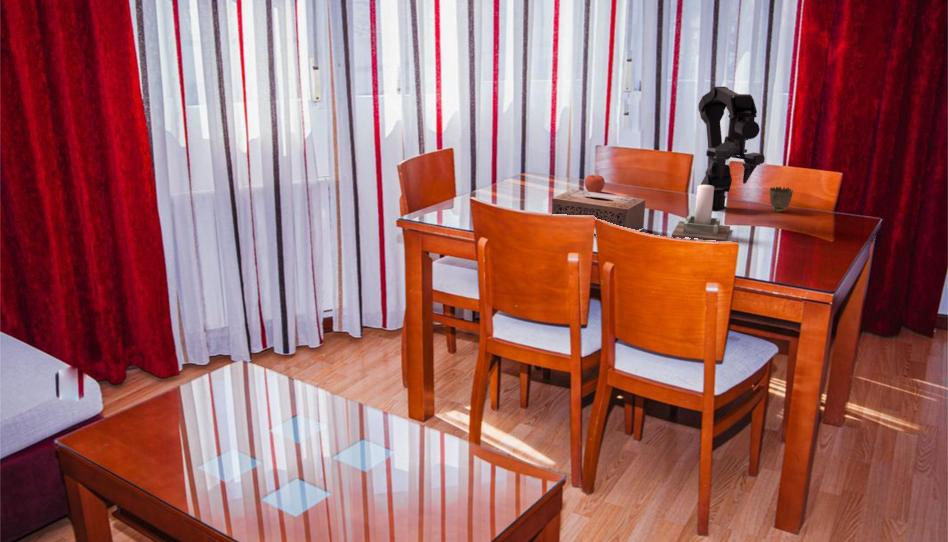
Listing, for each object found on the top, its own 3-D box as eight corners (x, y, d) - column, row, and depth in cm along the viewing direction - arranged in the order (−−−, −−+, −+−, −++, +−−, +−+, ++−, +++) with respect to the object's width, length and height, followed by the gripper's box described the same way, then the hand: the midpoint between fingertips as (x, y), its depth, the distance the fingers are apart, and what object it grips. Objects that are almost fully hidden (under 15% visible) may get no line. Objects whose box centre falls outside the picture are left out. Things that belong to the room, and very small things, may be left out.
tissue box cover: (643, 229, 271) (645, 199, 267) (625, 240, 259) (627, 209, 256) (571, 218, 284) (572, 189, 280) (551, 228, 272) (552, 198, 269)
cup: (793, 214, 287) (796, 191, 285) (771, 214, 287) (774, 191, 285) (786, 208, 294) (788, 186, 292) (764, 208, 294) (767, 186, 292)
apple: (592, 190, 320) (593, 169, 318) (608, 193, 315) (609, 172, 312) (580, 193, 315) (581, 172, 313) (595, 196, 310) (596, 175, 308)
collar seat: (679, 224, 275) (680, 212, 274) (729, 229, 269) (731, 217, 268) (671, 237, 261) (672, 224, 260) (724, 243, 255) (726, 230, 254)
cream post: (690, 228, 267) (694, 184, 262) (705, 227, 268) (710, 184, 263) (697, 232, 262) (701, 188, 258) (712, 231, 263) (716, 188, 258)
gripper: (698, 132, 274) (693, 179, 279) (747, 140, 261) (742, 189, 266) (718, 129, 281) (714, 174, 286) (768, 136, 267) (762, 184, 272)
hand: (732, 181), depth 277 cm, fingers open, 9 cm apart
